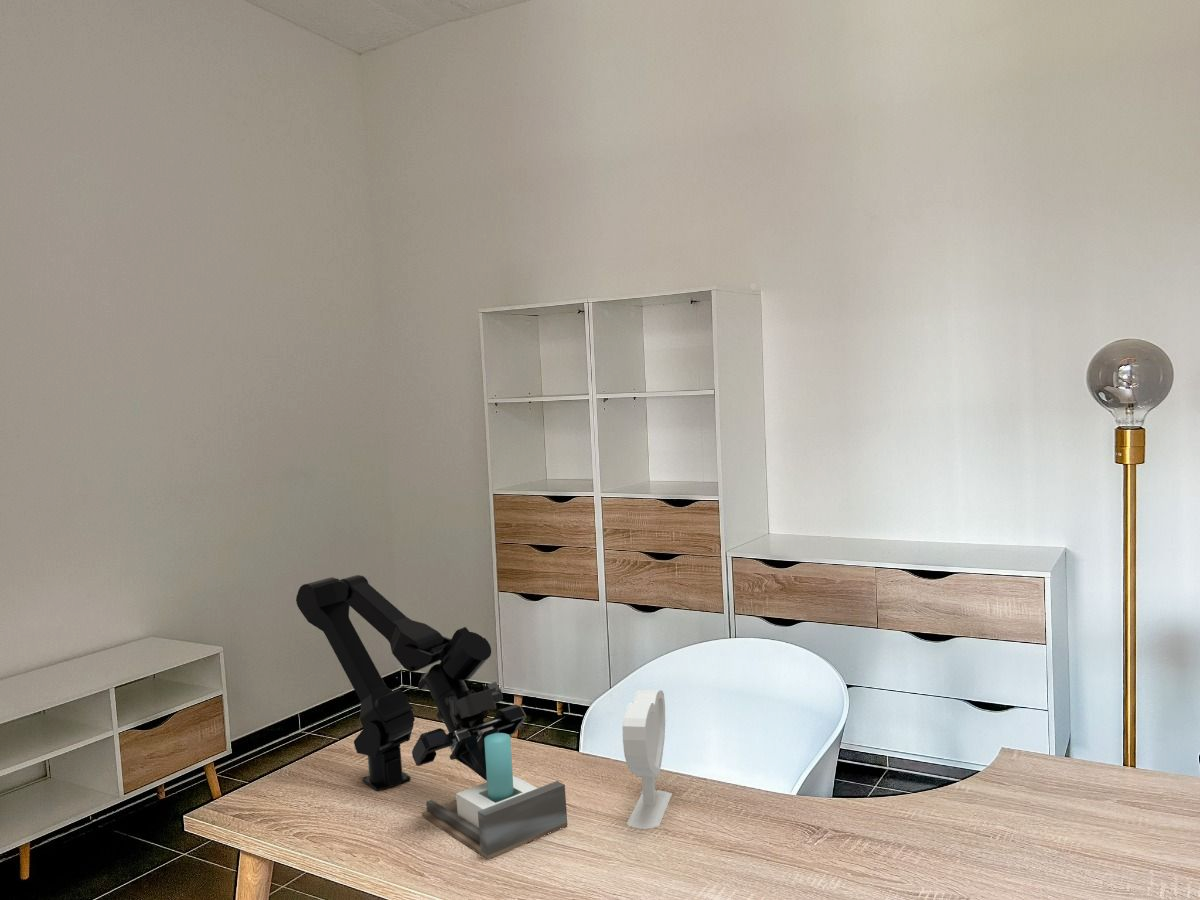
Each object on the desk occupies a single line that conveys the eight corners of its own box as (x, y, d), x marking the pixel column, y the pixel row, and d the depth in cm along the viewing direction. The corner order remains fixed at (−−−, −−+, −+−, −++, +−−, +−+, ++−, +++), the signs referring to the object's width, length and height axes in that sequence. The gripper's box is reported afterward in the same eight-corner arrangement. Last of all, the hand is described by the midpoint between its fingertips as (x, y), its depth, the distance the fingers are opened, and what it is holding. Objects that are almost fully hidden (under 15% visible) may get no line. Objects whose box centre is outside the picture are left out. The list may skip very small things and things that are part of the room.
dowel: (483, 820, 149) (479, 740, 147) (500, 809, 152) (495, 731, 150) (503, 827, 146) (499, 745, 145) (520, 815, 150) (515, 736, 148)
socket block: (458, 823, 150) (456, 793, 150) (511, 802, 156) (509, 773, 156) (492, 844, 142) (490, 813, 142) (547, 822, 148) (545, 792, 148)
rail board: (422, 815, 155) (418, 776, 154) (497, 787, 164) (494, 750, 163) (488, 859, 139) (485, 815, 139) (567, 826, 148) (564, 784, 148)
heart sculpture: (656, 832, 144) (649, 716, 143) (623, 830, 145) (616, 715, 144) (674, 788, 159) (668, 682, 158) (644, 787, 160) (638, 681, 159)
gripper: (414, 684, 147) (456, 774, 140) (516, 656, 159) (559, 738, 151) (395, 721, 154) (434, 809, 146) (493, 692, 166) (534, 772, 158)
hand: (492, 781), depth 150 cm, fingers closed
